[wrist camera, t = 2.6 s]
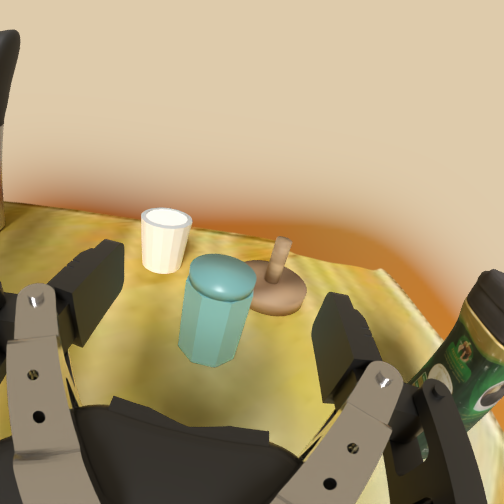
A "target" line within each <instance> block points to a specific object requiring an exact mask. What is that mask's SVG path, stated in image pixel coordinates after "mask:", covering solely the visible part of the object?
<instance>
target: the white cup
mask: <svg viewBox="0 0 504 504" xmlns="http://www.w3.org/2000/svg"><path fill="white" fill-rule="evenodd" d="M191 225H192V219H191V217H190V216H189V215H187V214H186V213H184V212H181V211H179V210H175V209H170V208H152V209H149V210H146V211H144V212H143V213H142V214H141V226H142V261H143V265H144V266H145V268H147V269H148V270H150V271H152V272H156V273H159V274H168V273H173V272H175V271H177V270H179V269H180V267H181V264H182V260H183V256H184V252H185V248H186V244H187V240H188V236H189V232H190V229H191Z"/></svg>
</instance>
